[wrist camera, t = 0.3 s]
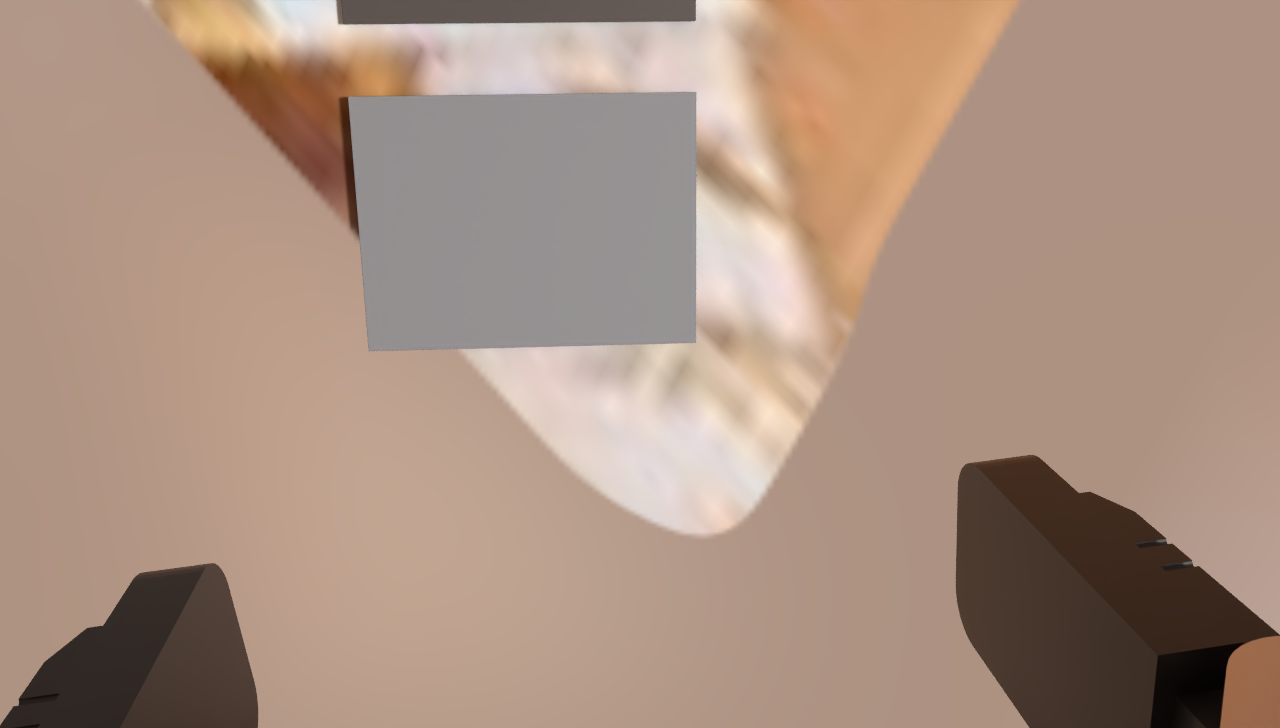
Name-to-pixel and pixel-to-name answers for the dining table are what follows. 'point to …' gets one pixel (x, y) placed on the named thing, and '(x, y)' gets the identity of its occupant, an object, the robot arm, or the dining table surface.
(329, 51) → the dining table surface
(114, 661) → the robot arm
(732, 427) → the dining table surface
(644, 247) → the mat
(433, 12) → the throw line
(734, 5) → the dining table surface
